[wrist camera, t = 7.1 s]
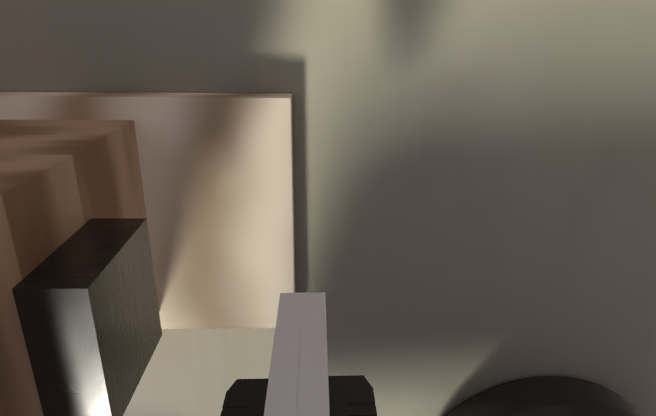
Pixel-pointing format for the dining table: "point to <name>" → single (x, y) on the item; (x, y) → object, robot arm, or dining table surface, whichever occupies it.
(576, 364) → the dining table surface
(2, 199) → the block
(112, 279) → the shaft
